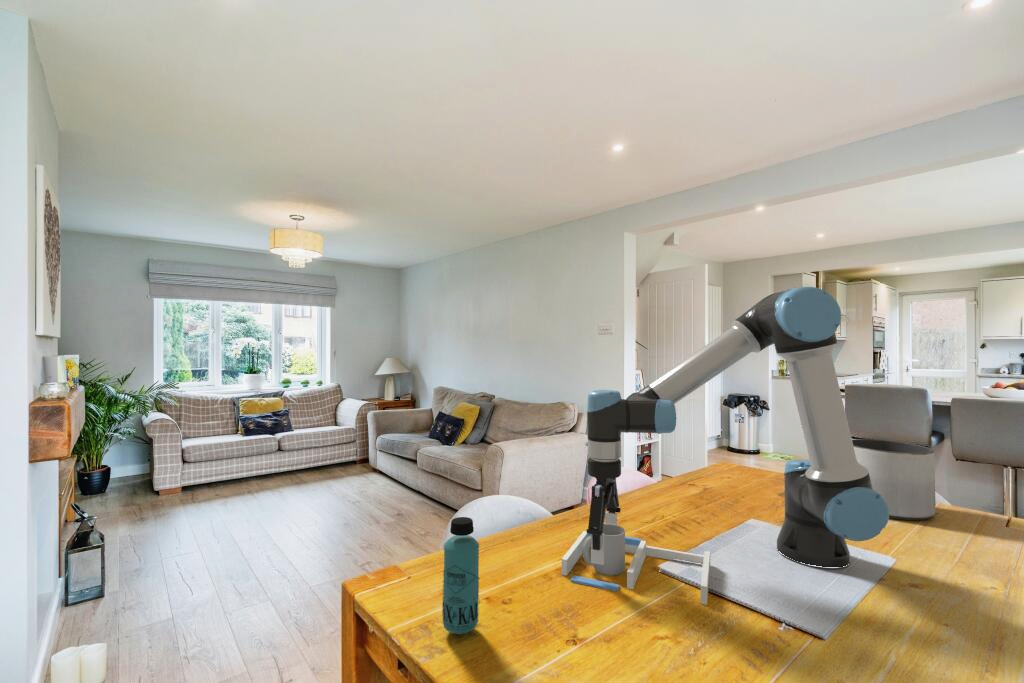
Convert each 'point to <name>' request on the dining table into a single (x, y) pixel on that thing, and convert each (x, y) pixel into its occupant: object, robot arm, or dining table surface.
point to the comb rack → (636, 563)
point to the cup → (609, 551)
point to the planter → (900, 476)
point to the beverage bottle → (461, 578)
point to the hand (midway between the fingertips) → (604, 551)
